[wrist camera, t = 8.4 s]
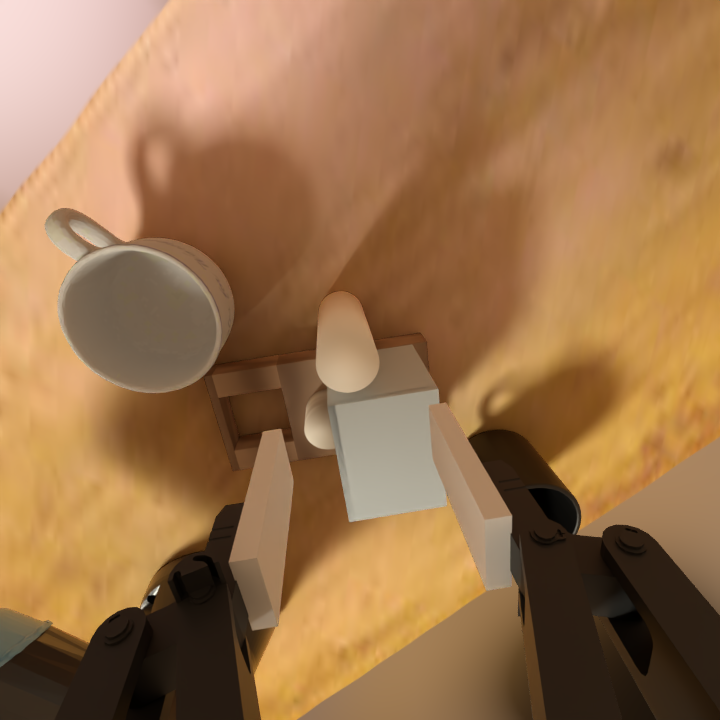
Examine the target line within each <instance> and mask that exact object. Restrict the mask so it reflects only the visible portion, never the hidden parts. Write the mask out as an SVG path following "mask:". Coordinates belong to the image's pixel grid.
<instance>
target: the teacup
mask: <svg viewBox="0 0 720 720" xmlns="http://www.w3.org/2000/svg"><path fill="white" fill-rule="evenodd" d="M45 230H46V233H47V235H48V237H49V238H50V240H51V241H52V242H53V243H54V244H55V246H56V247H57V248H58V249H60V250H61V251H62V252H64V253H65V254H66V255H68V256H70V257H71V258H73V259H74V260H76V261H78V262H76V263H75V264H74V266H73V267H72V268H71V269H70V270H69V272H68V273H67V275H66V277H65V279H64V281H63V283H62V285H61V288H60V290H59V296H58V316H59V321H60V325H61V328H62V331H63V333H64V335H65V338H66V340H67V341H68V343H69V345H70V346H71V348H72V350H73V351H74V353H75V354H76V355H77V356H78V358H79V359H80V360H81V361H82V362H83V363H84V364H85V365H86V366H87V367H88V368H90V369H91V370H92V371H93V372H94V373H96V374H97V375H99V376H100V377H102V378H104V379H105V380H107V381H109V382H111V383H113V384H115V385H117V386H120V387H122V388H126V389H129V390H132V391H137V392H144V393H165V392H170V391H174V390H179V389H182V388H184V387H187V386H189V385H191V384H193V383H195V382H196V381H198V380H199V379H200V378H201V377H203V376H204V375H205V374H206V373H207V372H208V371H209V370H210V369H211V367H212V366H213V364H214V363H215V361H216V359H217V357H218V355H219V352H220V350H221V349H222V347H223V346H224V344H225V342H226V340H227V338H228V336H229V334H230V331H231V328H232V325H233V321H234V313H235V310H234V299H233V294H232V291H231V288H230V285H229V283H228V281H227V279H226V277H225V276H224V274H223V273H222V271H221V270H220V268H219V267H218V266H217V265H216V264H215V263H214V262H213V261H212V260H211V259H210V258H209V257H208V256H207V255H205V254H204V253H203V252H201V251H200V250H198V249H196V248H195V247H193V246H191V245H188V244H186V243H183V242H180V241H177V240H173V239H167V238H144V239H138V240H134V241H130V242H124V241H122V240H120V239H118V238H117V237H115V236H114V235H113V234H112V233H110V232H109V231H108V230H106V229H105V228H103V227H102V226H101V225H99V224H98V223H97V222H95V221H94V220H92V219H91V218H89V217H88V216H86V215H84V214H83V213H80V212H78V211H76V210H73V209H69V208H61V209H58V210H56V211H54V212H53V213H52V214H51V215H50V216H49V217H48V218H47V219H46V222H45ZM75 232H76V233H78V234H79V235H81V236H83V237H84V238H86V239H87V240H89V241H90V242H91V243H93V244H94V245H96V246H94V245H92V244H90V243H88V242H86V241H85V240H83V239H82V238H81V237H79V236H78V235H77V234H76V233H75Z"/></svg>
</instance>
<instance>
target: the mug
mask: <svg viewBox="0 0 720 720" xmlns="http://www.w3.org/2000/svg"><path fill="white" fill-rule="evenodd" d="M468 441H469V443H470V444H471V446H472V448H473V449H474V451H475V453H476V455H477V456H478V458H479V460H480V461H481V463H484V462H490V461H496V460H502V461H504V462H505V463H507V464H508V465H510V466H511V467H513V469H514V470H515V472H516V473H517V475H518V476H519V477H520V480H522V482H523V483H524V485H525V486H526V488H527V489H528V490H529V492H530V493H531V495H532V496H533V498H534V499H535V501H536V502H537V504H538V505H539V506H540V508H541V509H542V511H543V512H544V514H545V515H546V517H547V518H548V519H549V520H552V521H554V522H556V523H558V524H560V525H561V526H562V527H563V528H565V529H566V530H567V532H568V533H571V534H575V535H576V534H577V532H578V530H579V527H580V523H581V510H580V506H579V504H578V502H577V500H576V498H575V497H574V496H573V495H572V493H571V492H570V491H569V490H568V489H567V487H566V486H565V485H564V484H563V483H562V481H561V480H560V479H559V478H558V476H557V475H556V474H555V473H554V472H553V470H552V469H551V468H550V467H549V466H548V464H547V463H546V462H545V461H544V460H543V458H542V457H541V456H540V455H539V454H538V452H537V451H536V450H535V449H534V448H533V446H532V445H531V444H530V443H529V442H528V440H526V439H525V438H524V437H523V436H521V435H519V434H517V433H514V432H511V431H506V430H492V431H487V432H483V433H480V434H478V435H476V436H474V437H472V438H471V439H469V440H468Z"/></svg>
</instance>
